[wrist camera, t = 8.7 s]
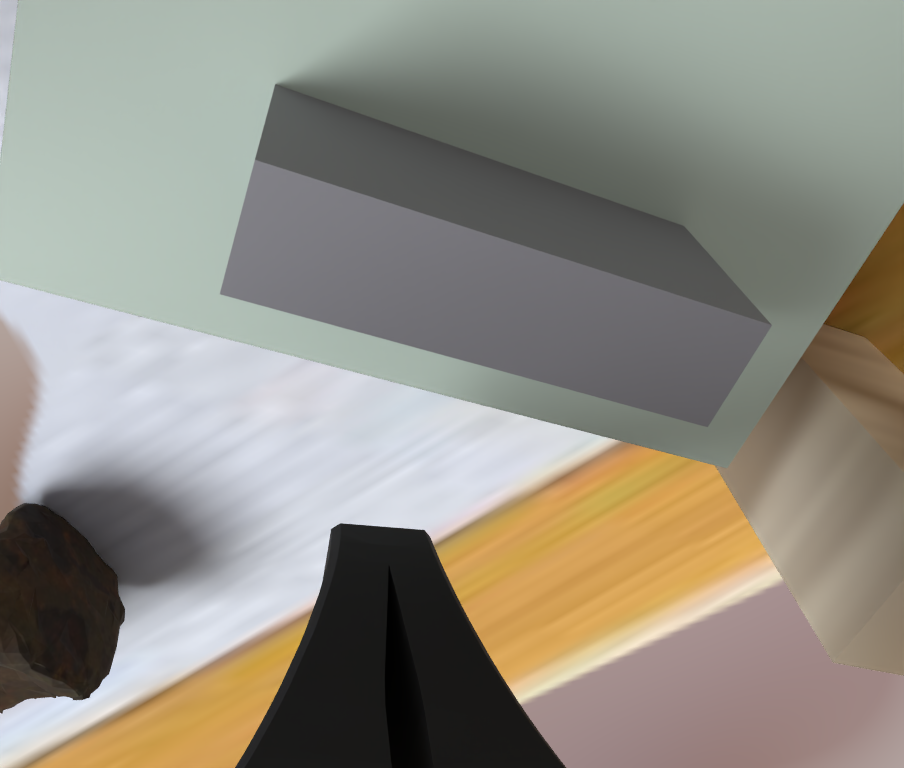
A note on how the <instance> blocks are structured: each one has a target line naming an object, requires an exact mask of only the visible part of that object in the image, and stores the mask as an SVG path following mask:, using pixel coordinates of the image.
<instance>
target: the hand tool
mask: <svg viewBox="0 0 904 768" xmlns="http://www.w3.org/2000/svg"><path fill="white" fill-rule="evenodd" d="M124 618H125V608H124V606H123V604H122V601H121V599H120V597H119V595H118V581H117V575H116V574H115V573H114V571H113V570H112V569H111V568H110V567H109V566H108V565H107V564H106V563H104V562H103V561H102V559H101V558H100V557H99V556H98V555H97V554H96V552H95V551H94V549H93V547H92V546H91V545H90V543H89V542H88V541H87V539H86V538H85V537H84V536H82V535H81V534H80V533H79V532H78V531H77V530H76V529H75V528H73V527H72V526H71V525H70V524H69V523H68V522H67V521H66V520H64V519H63V518H62V517H60V516H58V515H56V514H55V513H53V512H52V511H50V510H49V509H48V508H46V507H45V506H41V505H37V504H29V503H24V504H22V505H20V506H18V507H16V508H15V509H13V510H12V511H11V512H9V513H8V514H7V515H6V517H5V519H4V520H3V521H2V522H1V524H0V713H3V710H5V709H9V708H12V707H14V706H15V705H17V704H18V703H20V702H22V701H24V700H26V699H31V698H34V699H36V698H45V697H53V698H56V696H58V697H61V696H66V697H70V698H73V700H83V699H86V698H89V697H90V694H91V693H93V692H94V691H95V690H96V689H97V688H98V687H99V686H100V684H101V682H102V680H103V679H104V678H105V677H106V676H107V675H108V674H109V672H110V669H111V665H112V661H113V658H114V654H115V651H116V647H117V642H118V635H119V629H120V626H121V624H122V623H123V622H124Z"/></svg>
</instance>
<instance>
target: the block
mask: <svg viewBox="0 0 904 768" xmlns="http://www.w3.org/2000/svg"><path fill="white" fill-rule="evenodd" d="M715 466H716V465H715ZM716 468H717V470H718V471H719V473H720V475H721V476H722V478H723V480H724V481H725V483H726V485H727V486H728V488H729V490H730V491H731V493H732V495H733V496H734V498H735V500H736V501H737V503H738V505H739V506H740V508H741V510H742V511H743V513H744V515H745V516H746V518H747V520H748V521H749V523H750V525H751V526H752V528H753V530H754V531H755V533H756V535H757V536H758V538H759V540H760V541H761V543H762V545H763V546H764V548H765V550H766V551H767V553H768V555H769V556H770V558H771V560H772V561H773V563H774V565H775V566H776V568H777V570H778V572H779V573H780V575H781V577H782V578H783V580H784V582H785V583H786V585H787V586H788V588H789V590H790V592H791V593H792V595H793V596H794V598H795V600H796V602H797V603H798V605H799V607H800V608H801V610H802V612H803V613H804V615H805V617H806V618H807V620H808V622H809V623H810V625H811V627H812V628H813V630H814V632H815V633H816V635H817V637H818V638H819V640H820V642H821V643H822V645H823V647H824V648H825V650H826V652H827V653H828V655H829V657H830V658H831V660H832V662H833V663H838V664H844V665H849V666H854V667H860V668H865V669H871V670H876V671H882V672H887V673H893V674H898V675H904V374H903V373H902V372H901V371H900V370H899V369H898V368H897V367H896V366H895V365H894V364H893V363H892V362H891V361H890V360H889V359H888V358H886V357H885V356H884V355H883V354H882V353H881V352H880V351H879V350H878V349H877V348H876V347H875V346H874V345H873V344H872V343H871V342H870V341H869V340H868V339H866V338H865V337H863V336H860V335H856V334H853V333H850V332H847V331H844V330H841V329H837V328H834V327H831V326H828V325H825V324H823V325H822V326H821V328H820V329H819V331H818V332H817V334H816V335H815V337H814V339H813V340H812V342H811V343H810V345H809V346H808V348H807V349H806V351H805V352H804V354H803V355H802V357H801V358H800V360H799V361H798V363H797V364H796V366H795V367H794V369H793V370H792V372H791V373H790V375H789V376H788V378H787V379H786V381H785V382H784V384H783V385H782V387H781V388H780V390H779V391H778V393H777V394H776V396H775V397H774V399H773V400H772V402H771V403H770V405H769V406H768V408H767V409H766V411H765V412H764V414H763V415H762V417H761V418H760V420H759V421H758V423H757V424H756V426H755V427H754V429H753V430H752V432H751V433H750V435H749V436H748V438H747V439H746V441H745V442H744V444H743V445H742V447H741V448H740V450H739V451H738V453H737V454H736V456H735V457H734V459H733V460H732V462H731V463H730V465H729V466H728V468H724V467H720V466H716Z"/></svg>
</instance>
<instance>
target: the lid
mask: <svg viewBox="0 0 904 768" xmlns="http://www.w3.org/2000/svg"><path fill="white" fill-rule="evenodd" d="M903 203H904V0H18V5H17V14H16V23H15V32H14V41H13V50H12V59H11V68H10V77H9V86H8V95H7V104H6V113H5V122H4V131H3V140H2V149H1V158H0V280H1V281H5V282H9V283H13V284H17V285H20V286H24V287H28V288H32V289H36V290H40V291H44V292H47V293H51V294H55V295H59V296H63V297H67V298H71V299H75V300H78V301H82V302H86V303H90V304H94V305H98V306H102V307H105V308H109V309H113V310H117V311H121V312H125V313H129V314H132V315H136V316H140V317H144V318H148V319H152V320H156V321H160V322H163V323H167V324H171V325H175V326H179V327H183V328H187V329H190V330H194V331H198V332H202V333H206V334H210V335H214V336H217V337H221V338H225V339H229V340H233V341H237V342H241V343H245V344H248V345H252V346H256V347H260V348H264V349H268V350H272V351H275V352H279V353H283V354H287V355H291V356H295V357H299V358H302V359H306V360H310V361H314V362H318V363H322V364H326V365H330V366H333V367H337V368H341V369H345V370H349V371H353V372H357V373H360V374H364V375H368V376H372V377H376V378H380V379H384V380H388V381H391V382H395V383H399V384H403V385H407V386H411V387H415V388H418V389H422V390H426V391H430V392H434V393H438V394H442V395H445V396H449V397H453V398H457V399H461V400H465V401H469V402H473V403H476V404H480V405H484V406H488V407H492V408H496V409H500V410H503V411H507V412H511V413H515V414H519V415H523V416H527V417H530V418H534V419H538V420H542V421H546V422H550V423H554V424H558V425H561V426H565V427H569V428H573V429H577V430H581V431H585V432H588V433H592V434H596V435H600V436H604V437H608V438H612V439H615V440H619V441H623V442H627V443H631V444H635V445H639V446H643V447H646V448H650V449H654V450H658V451H662V452H666V453H670V454H673V455H677V456H681V457H685V458H689V459H693V460H697V461H700V462H704V463H708V464H712V465H716V466H720V467H724V468H728V466H729V465H730V463H731V462H732V460H733V459H734V457H735V456H736V454H737V453H738V451H739V450H740V448H741V447H742V445H743V444H744V442H745V441H746V439H747V438H748V436H749V435H750V433H751V432H752V430H753V429H754V427H755V426H756V424H757V423H758V421H759V420H760V418H761V417H762V415H763V414H764V412H765V411H766V409H767V408H768V406H769V405H770V403H771V402H772V400H773V399H774V397H775V396H776V394H777V393H778V391H779V390H780V388H781V387H782V385H783V384H784V382H785V381H786V379H787V378H788V376H789V375H790V373H791V372H792V370H793V369H794V367H795V366H796V364H797V363H798V361H799V360H800V358H801V357H802V355H803V354H804V352H805V351H806V349H807V348H808V346H809V345H810V343H811V342H812V340H813V339H814V337H815V335H816V334H817V332H818V331H819V329H820V328H821V326H822V325H823V323H824V322H825V320H826V319H827V317H828V316H829V314H830V313H831V311H832V310H833V308H834V307H835V305H836V304H837V302H838V301H839V299H840V298H841V296H842V295H843V293H844V292H845V290H846V289H847V287H848V286H849V284H850V283H851V281H852V280H853V278H854V277H855V275H856V274H857V272H858V271H859V269H860V268H861V266H862V265H863V263H864V262H865V260H866V259H867V257H868V256H869V254H870V253H871V251H872V250H873V248H874V247H875V245H876V244H877V242H878V241H879V239H880V238H881V236H882V235H883V233H884V232H885V230H886V229H887V227H888V226H889V224H890V223H891V221H892V220H893V218H894V217H895V215H896V214H897V212H898V211H899V209H900V208H901V206H902V205H903Z"/></svg>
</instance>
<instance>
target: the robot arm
mask: <svg viewBox="0 0 904 768" xmlns="http://www.w3.org/2000/svg"><path fill="white" fill-rule="evenodd" d="M235 768H566V767H565V765H563V763H562V762H561V761H560V759H559V758H558V757H557V755H556V754H555V753H554V751H553V750H552V749H551V747H550V746H549V745H548V743H547V742H546V741H545V739H544V738H543V737H542V735H541V734H540V733H539V731H538V730H537V728H536V727H535V726H534V724H533V723H532V721H531V720H530V719H529V717H528V716H527V714H526V713H525V711H524V710H523V708H522V707H521V705H520V704H519V702H518V701H517V699H516V698H515V696H514V695H513V693H512V692H511V690H510V688H509V687H508V685H507V684H506V682H505V681H504V679H503V677H502V676H501V674H500V673H499V671H498V669H497V668H496V666H495V664H494V663H493V661H492V659H491V658H490V656H489V654H488V653H487V651H486V649H485V647H484V646H483V644H482V642H481V640H480V639H479V637H478V635H477V633H476V631H475V630H474V628H473V626H472V624H471V622H470V621H469V619H468V617H467V615H466V613H465V611H464V609H463V607H462V606H461V604H460V602H459V600H458V598H457V596H456V594H455V592H454V590H453V588H452V586H451V583H450V581H449V579H448V577H447V575H446V573H445V571H444V569H443V566H442V564H441V562H440V560H439V557H438V555H437V553H436V550H435V548H434V546H433V543H432V541H431V538H430V536H429V535H428V534H427V533H426V532H425V530H416V529H404V528H391V527H378V526H366V525H353V524H341V523H340V524H339V525H337V526H335V527H334V528H332V529H331V534H330V540H329V546H328V552H327V558H326V565H325V571H324V577H323V582H322V586H321V589H320V593H319V596H318V598H317V601H316V604H315V606H314V609H313V612H312V614H311V617H310V620H309V623H308V625H307V628H306V631H305V633H304V636H303V638H302V640H301V643H300V645H299V647H298V649H297V651H296V654H295V656H294V658H293V660H292V662H291V664H290V667H289V669H288V671H287V673H286V675H285V677H284V680H283V682H282V684H281V686H280V688H279V690H278V692H277V694H276V696H275V698H274V700H273V702H272V704H271V706H270V708H269V710H268V711H267V713H266V715H265V717H264V719H263V721H262V723H261V724H260V726H259V728H258V730H257V731H256V733H255V735H254V737H253V739H252V740H251V742H250V744H249V746H248V747H247V749H246V751H245V753H244V754H243V756H242V757H241V759H240V761H239V762H238V764H237V766H236V767H235Z"/></svg>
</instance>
